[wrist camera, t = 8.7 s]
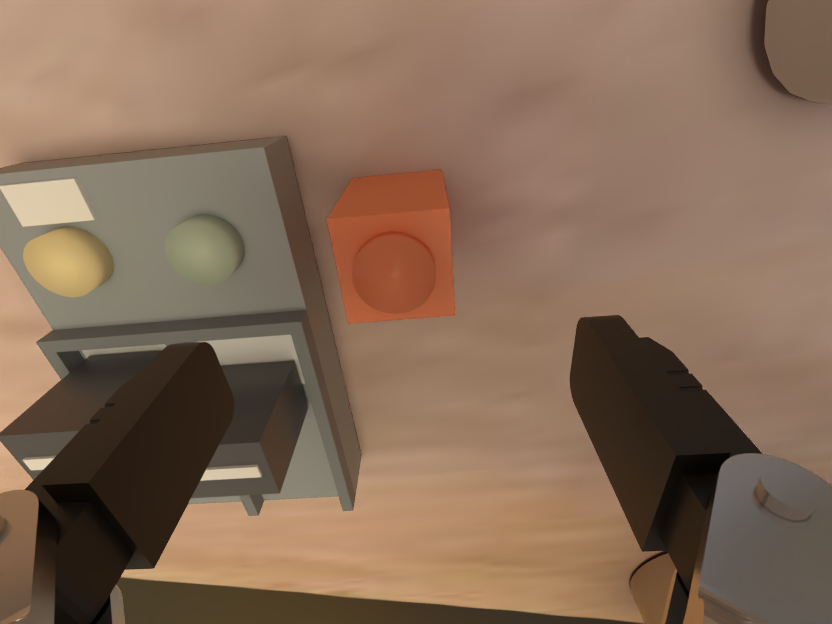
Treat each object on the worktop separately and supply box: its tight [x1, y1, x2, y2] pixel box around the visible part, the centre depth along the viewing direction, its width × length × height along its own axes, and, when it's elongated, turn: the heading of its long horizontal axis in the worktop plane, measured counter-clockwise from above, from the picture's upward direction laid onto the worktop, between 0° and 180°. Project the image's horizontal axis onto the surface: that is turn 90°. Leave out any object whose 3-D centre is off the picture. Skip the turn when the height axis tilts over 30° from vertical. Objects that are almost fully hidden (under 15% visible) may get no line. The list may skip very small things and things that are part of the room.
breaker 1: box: [0, 351, 161, 480], centre depth 18 cm, size 3×4×5 cm
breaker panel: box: [0, 136, 361, 516], centre depth 21 cm, size 20×12×4 cm, turn 5°
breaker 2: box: [191, 361, 308, 498], centre depth 18 cm, size 3×4×5 cm
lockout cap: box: [327, 170, 455, 323], centre depth 17 cm, size 4×4×7 cm
